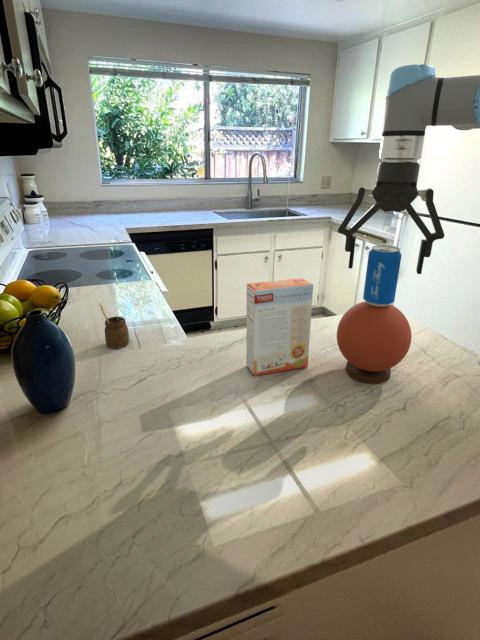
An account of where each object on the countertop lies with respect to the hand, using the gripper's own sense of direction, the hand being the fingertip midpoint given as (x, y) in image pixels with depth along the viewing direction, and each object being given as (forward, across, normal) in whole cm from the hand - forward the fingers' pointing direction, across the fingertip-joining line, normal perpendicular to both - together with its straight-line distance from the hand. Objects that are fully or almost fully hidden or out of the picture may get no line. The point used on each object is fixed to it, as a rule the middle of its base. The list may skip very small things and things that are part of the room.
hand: (383, 269), depth 85 cm
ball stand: (+25, 0, 0) cm, 25 cm away
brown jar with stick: (+25, -64, -6) cm, 69 cm away
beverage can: (+8, 0, 0) cm, 8 cm away
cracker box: (+25, -21, -4) cm, 33 cm away
